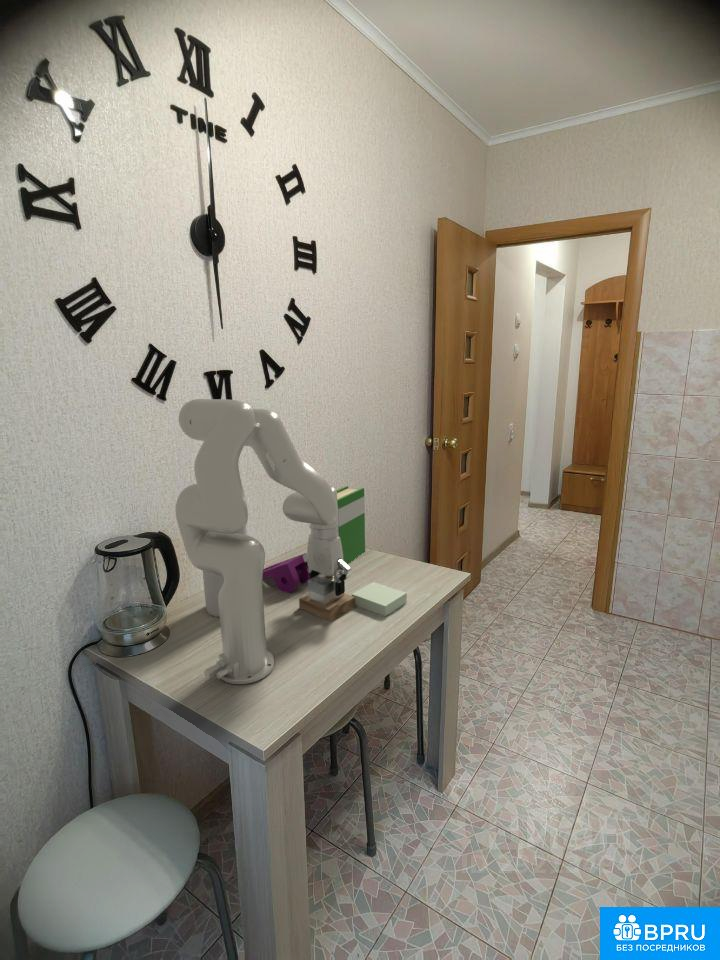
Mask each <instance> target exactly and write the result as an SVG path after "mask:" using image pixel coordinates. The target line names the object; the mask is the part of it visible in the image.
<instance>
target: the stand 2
mask: <svg viewBox="0 0 720 960" xmlns="http://www.w3.org/2000/svg"><path fill="white" fill-rule="evenodd" d="M351 596H353V597H355V606H357V607H360V608H362V609H365V610H368V611H370V612H373V613H376V614H378V615H381V616H383V617H386V616H388V615H390V614H392V613H394V612H395V611H396V610H398V609H399V608H400V607H402V606H404V605H405V604H406V603H407V592H405V591H402V590H400V589H395V588H393V587H390V586H387V585H383V584H381V583H377V582H375V581H373V582H371V583H369V584H367V585H365V586H363V587H362V588H360V589H357V590H356V591H354V592H352V593H351Z"/></svg>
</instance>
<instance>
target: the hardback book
mask: <svg viewBox="0 0 720 960" xmlns="http://www.w3.org/2000/svg"><path fill="white" fill-rule="evenodd" d="M336 491H337V505H338V531H339V537H340V540H341V544H342V551H343V561H344V562H345V563H346V564H347V565H348V566H349V564H351V563H352V562H353V561H355V560H356V559H357V558H359V557H360V556H362V555H363V554H364V552H365V553H366V520H365V519H366V518H365V517H366V516H365V515H366V513H365V487H360V488H359V489H354V488H349V486H347V485H346V486H345V485H344V486H343V487H340V488H339V489H336ZM362 553H363V554H362ZM361 554H362V555H361ZM359 555H360V556H359ZM358 556H359V557H358ZM355 558H356V559H355ZM354 559H355V560H354ZM351 561H352V562H351Z"/></svg>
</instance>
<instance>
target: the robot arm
mask: <svg viewBox="0 0 720 960" xmlns="http://www.w3.org/2000/svg"><path fill="white" fill-rule="evenodd" d="M178 423H179V426H180V429H181V431H182V432H183V434H185V436H187V437H189V438H191V439H192V440H196V441H203V443H202V445H200V448H199V450H198V453H197V455H196V456H195V459H194V460H195V461H194V464H193V465H194V466H193V468H194V469H193V471H194V477H195V482H196V483H194V484H191V485H188V486H186V487H185V488H183V489H182V490H181V492H180V493H179V495H178V497H177V499H176V503H175V518H176V523H177V527H178V529H179V532H180V537H181V539H182V543H183V546H184V549H185V553H186V555H187V557H188V561H190V563H191V565H193V567H195V568H196V569H198V570H201V571H202V572H203V571H206V572H210V573H213V574H217V575H220V576H222V577H223V578H224V583H223V586H222V587H221V589H220V592H219V596H218V605H219V614H220V617H219V621H220V622H219V624H220V625H219V626H220V635H221V645H222V646H221V648H222V653H220V654H219V655H218V661H216V662H215V664H214V665H212V666H209V667H208V668H206V669H204V670H203V674H204V677H205V678H207V679H210V678H211V677H213V676H215V675H216V677H217V679H218V680H222V681H223V682H225V683H227V684H232V685H247V684H251V683H255V682H258V681H260V680H261V679H264V678H265V677H267V676H268V675H269V674H270V673H271V672H272V671H273V669H274V668H275V657H274V655H273V654H272V652H270V651H268V650H267V638H266V637H267V635H266V634H267V633H266V623H265V608H264V607H265V606H264V593H263V580H264V579H263V569H265V561H266V551H265V548H264V546H263V544H262V543H261V542H260V541H259V540H258V539H256V538H255V537H252V536H250V535H248V534H247V535H244V534H239V533H237V532H239V531H241V530H243V528H244V527H245V526H246V527H247V524H248V519H249V511H248V510H249V509H248V505H247V502H246V501H247V500H246V496H245V492H244V488H243V484H242V479H241V473H240V470H239V461H240V456H241V454H242V451H243V449H244V447H250V448H252V450H253V452H254V453H255V455H256V456H257V458H258V459H259V462H260V463H261V466H262V467H263V469H264V471H265V473H266V474H267V476H268V477H269V478H270V479H271V480H272V481H274V482H276V483H278V484H279V485H281V486H283V487H285V488H288V489H290V490H292V491H294V492H293V493H291V494H289V495H287V496H286V497H285V499H284V501H283V503H282V512H283V514H284V516H285V517H286V518H288V519H289V520H291V521H293V522H299V523H305V524H309V529H310V534H309V535H308V541H307V550H306V552H305V553H306V554H305V553H303V554H304V555H303V559H304V561H305V565H306V567H307V568H308V572H309V574H310V579H311V578H313V577H315V576H318V575H320V574H325V575H329V576H334V578H335V579H336V581H337V582H335V595H336V596H339V595H341V594H343V593H345V592H346V588H345V581H346V580H347V579H348V578H349V577H350V574H351V572H352V568H351V567H350V565H349V564H348V565H347V564H346V563H345V562H344V561H343V551H342V544H341V540H340V537H339V531H338V505H337V491H336V490H337V489H336V488H335V487H333V486H331V485H330V484H329V482H328V481H327V479H325V477H323V476H322V475H321V474H320V473H319V472H318V471H317V470H315V469H314V468H313V467H312V466H311V465H309V464H308V463H307V462H305V461H304V460H303V459H302V458H301V457H300V456H299V454H298V452H297V450H296V448H295V446H294V444H293V442H292V439H291V437H290V435H289V434H288V431H287V429H286V427H285V426H284V423H283V421H282V419H281V418H280V417H279V415H278V414H277V413H276V412H274V411H272V410H269V409H266V408H265V409H263V408H252V407H251V405H249V404H248V403H246V402H244V401H241V400H237V399H225V398H224V399H223V398H219V399H217V398H216V399H215V398H213V399H212V398H211V399H209V398H197V399H196V398H194V399H191V400H189V401H187V402H186V403H185V404H183V405H182V407H181V408H180V411H179V413H178ZM338 574H340V577H339V576H338Z"/></svg>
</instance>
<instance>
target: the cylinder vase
mask: <svg viewBox="0 0 720 960" xmlns="http://www.w3.org/2000/svg"><path fill="white" fill-rule="evenodd" d="M237 533H239V534H244V535H248V532H247V525H246V526H245V527H244V528H243V530H241V531H239V532H237ZM202 577H203V578H202V579H203V589H204V591H203V592H204V599H205V609H206V612H207V613H208V614H209V615H211V616H213V617H216V618H220V614H219V605H218V596H219V592H220V589H221V587H222V586H223V583H224V578H223V577H222V576H220V575H217V574H213V573H210V572H206V571H203V570H202Z"/></svg>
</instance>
